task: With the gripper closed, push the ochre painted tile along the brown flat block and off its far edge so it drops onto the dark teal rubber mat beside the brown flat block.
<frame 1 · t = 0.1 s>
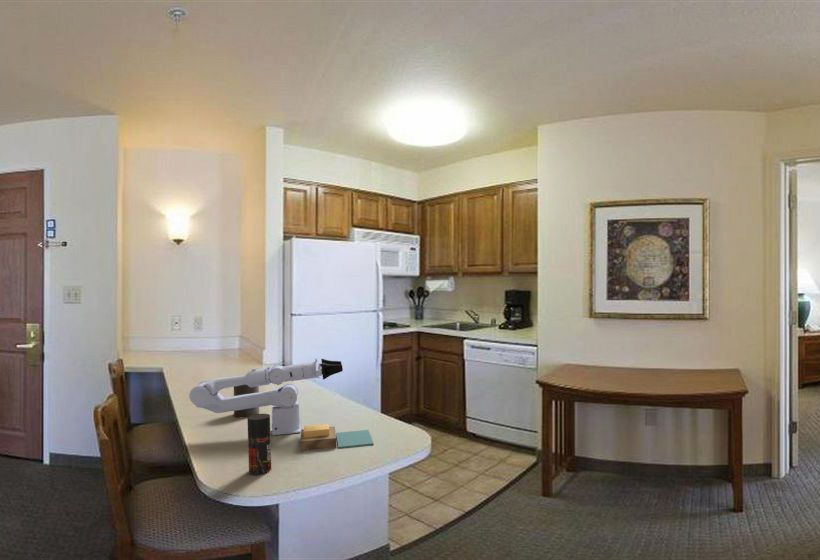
hand: (342, 366, 165), 22 cm above the breakfast bar, tool horizontal, fingers open, 7 cm apart
tile: (316, 433, 147), point 3 cm above the breakfast bar, touching brown flat block
brown flat block: (318, 442, 147), on the breakfast bar
pillar candle: (247, 414, 184), on the breakfast bar
mat: (354, 439, 150), on the breakfast bar
deodorant: (260, 471, 126), on the breakfast bar
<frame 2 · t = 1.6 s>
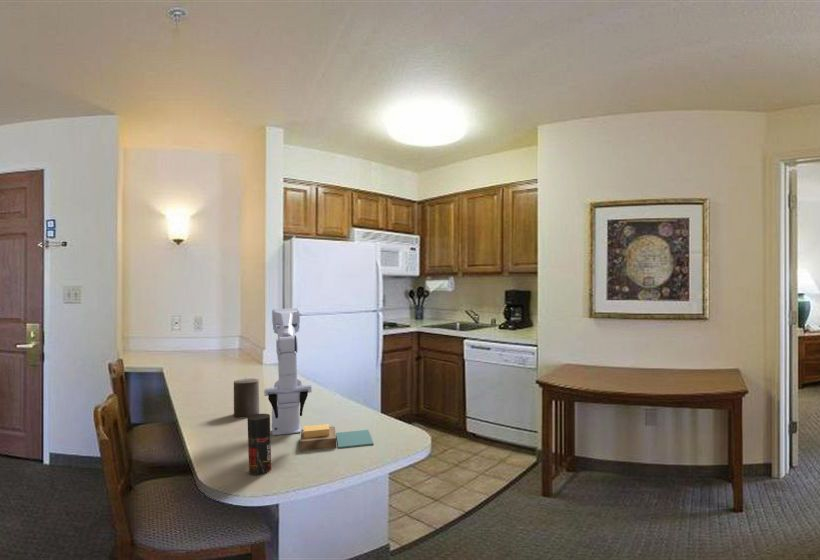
hand: (289, 416, 146), 9 cm above the breakfast bar, tool pointing down, fingers open, 7 cm apart
nothing on the breakfast bar moved.
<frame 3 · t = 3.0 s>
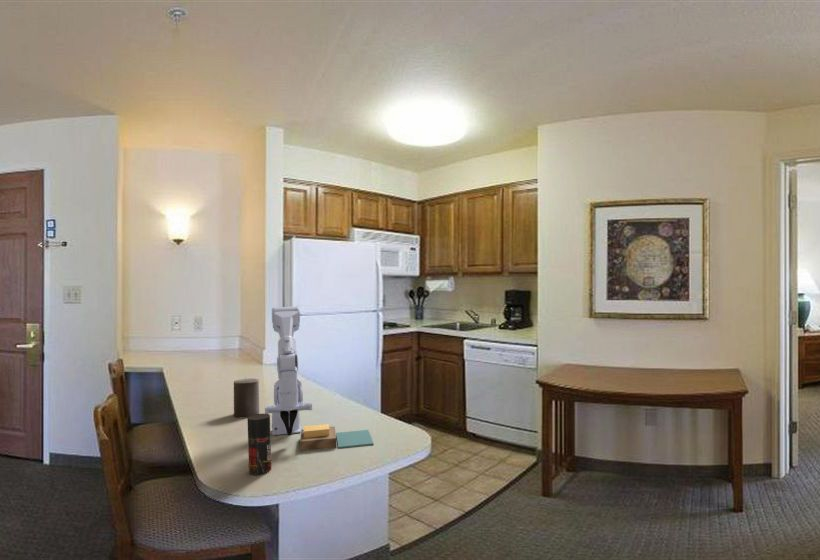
hand: (289, 434, 146), 4 cm above the breakfast bar, tool pointing down, fingers closed
nothing on the breakfast bar moved.
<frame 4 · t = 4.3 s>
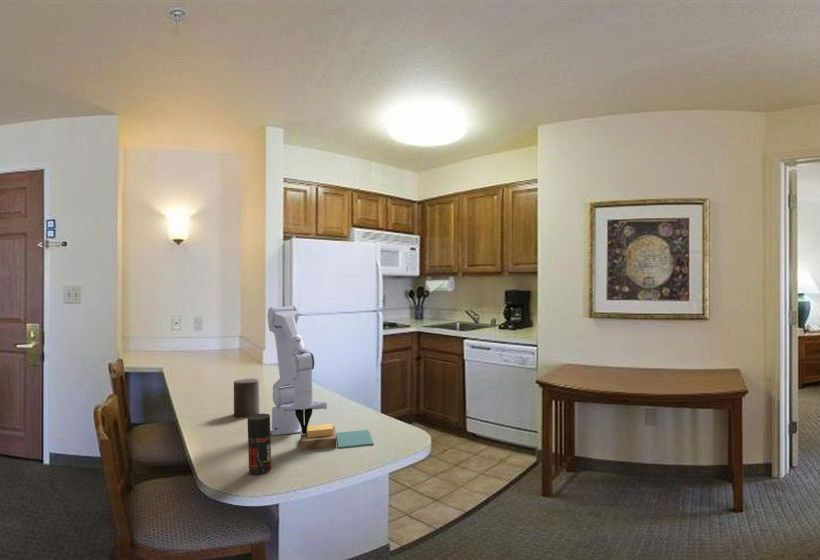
hand: (304, 432, 147), 4 cm above the breakfast bar, tool pointing down, fingers closed
tile: (320, 433, 148), point 3 cm above the breakfast bar, touching gripper
everything else where it was.
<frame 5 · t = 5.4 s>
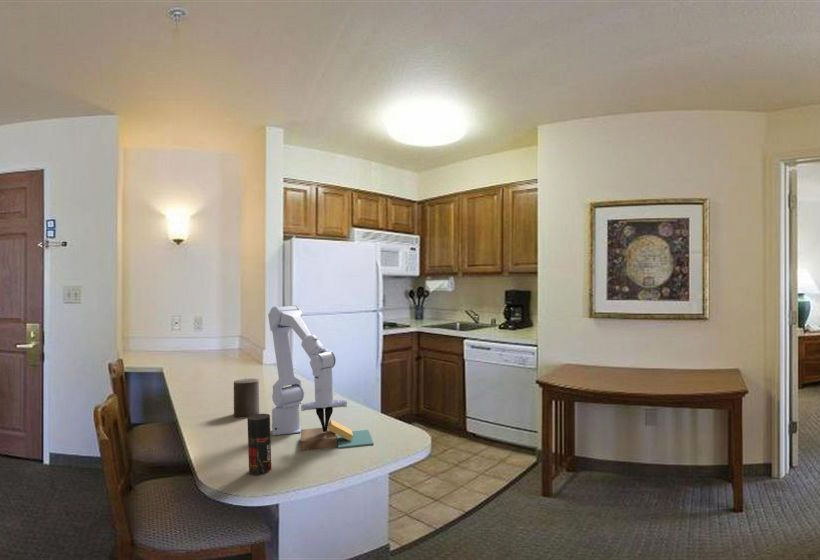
hand: (325, 430, 148), 4 cm above the breakfast bar, tool pointing down, fingers closed
tile: (338, 432, 149), point 3 cm above the breakfast bar, tilted 33°, touching gripper
everything else where it was.
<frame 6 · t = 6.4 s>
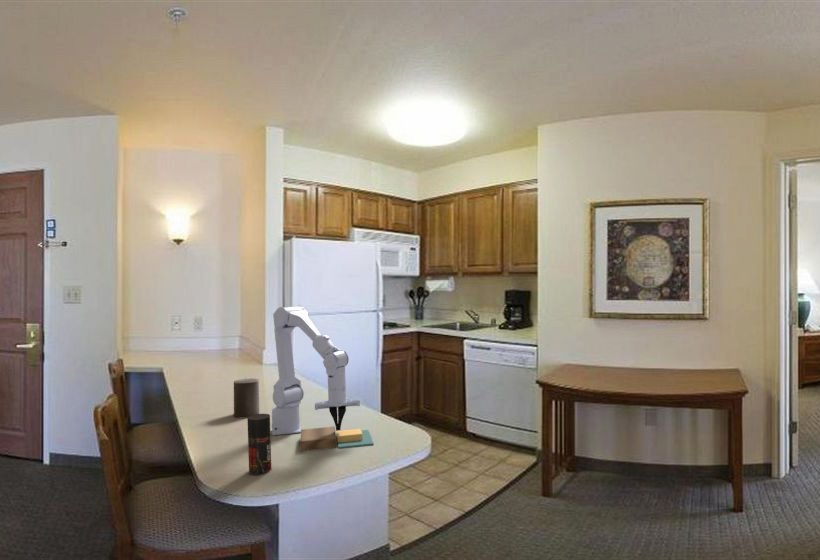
hand: (338, 429, 149), 4 cm above the breakfast bar, tool pointing down, fingers closed
tile: (349, 438, 149), resting on mat
everything else where it was.
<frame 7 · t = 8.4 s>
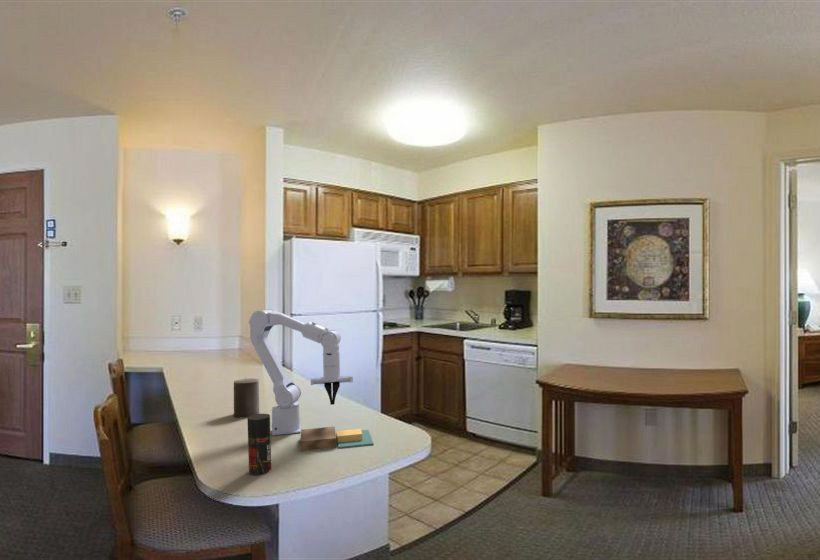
hand: (332, 403, 160), 9 cm above the breakfast bar, tool pointing down, fingers closed
nothing on the breakfast bar moved.
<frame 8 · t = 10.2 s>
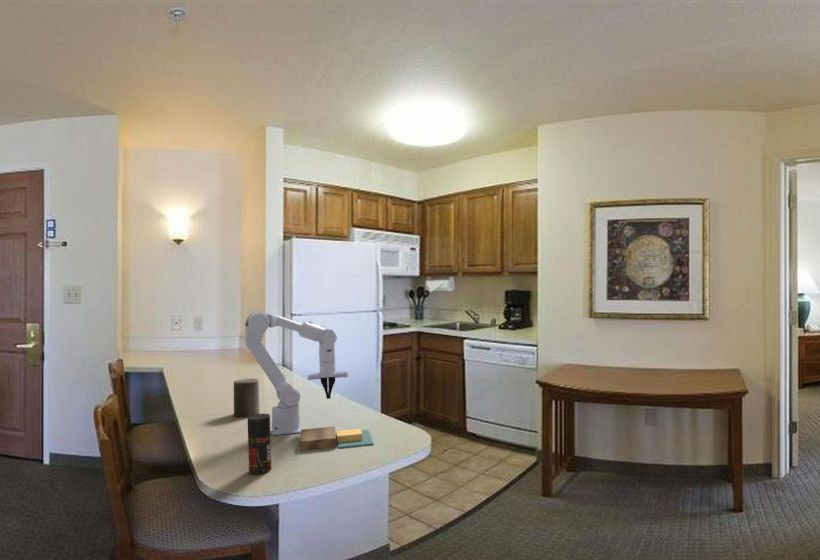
hand: (328, 398, 168), 9 cm above the breakfast bar, tool pointing down, fingers closed
nothing on the breakfast bar moved.
at the end: tile inside the target area (1.5 cm from its centre), point 0.5 cm above the breakfast bar; tile touching mat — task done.
